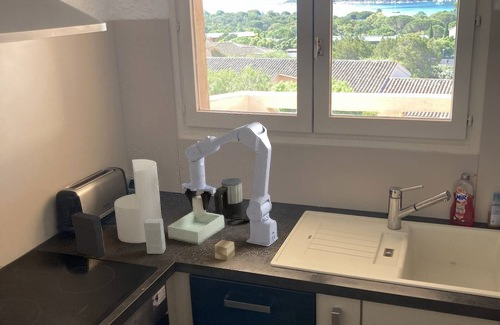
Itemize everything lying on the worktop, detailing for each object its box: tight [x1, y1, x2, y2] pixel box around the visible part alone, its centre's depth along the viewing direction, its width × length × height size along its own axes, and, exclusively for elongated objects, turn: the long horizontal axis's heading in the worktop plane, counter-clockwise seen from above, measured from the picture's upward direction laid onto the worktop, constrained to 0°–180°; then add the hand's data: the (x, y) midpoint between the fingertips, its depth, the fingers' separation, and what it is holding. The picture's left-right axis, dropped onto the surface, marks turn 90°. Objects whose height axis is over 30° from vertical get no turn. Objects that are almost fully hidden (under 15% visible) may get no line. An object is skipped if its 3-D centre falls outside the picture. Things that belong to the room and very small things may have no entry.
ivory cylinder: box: [192, 195, 207, 217], centre depth 209 cm, size 5×5×7 cm
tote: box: [167, 211, 225, 246], centre depth 210 cm, size 14×18×5 cm
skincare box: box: [144, 218, 167, 255], centre depth 194 cm, size 6×4×12 cm
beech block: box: [214, 239, 236, 262], centre depth 189 cm, size 5×5×5 cm
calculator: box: [70, 211, 106, 259], centre depth 194 cm, size 11×4×15 cm, turn 59°
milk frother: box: [213, 177, 250, 222], centre depth 222 cm, size 14×16×15 cm
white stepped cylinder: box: [113, 158, 163, 244], centre depth 208 cm, size 17×17×28 cm
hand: (199, 208), depth 209 cm, fingers closed on ivory cylinder, 5 cm apart
